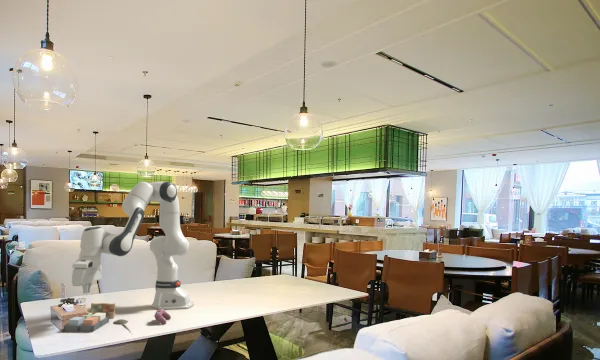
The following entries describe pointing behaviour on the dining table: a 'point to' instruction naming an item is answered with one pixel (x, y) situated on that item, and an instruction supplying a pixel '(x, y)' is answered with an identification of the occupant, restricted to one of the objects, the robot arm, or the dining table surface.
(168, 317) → the pink neck pillow
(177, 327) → the dining table surface
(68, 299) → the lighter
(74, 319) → the key blue
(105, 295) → the dining table surface
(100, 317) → the key cream
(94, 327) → the keypad
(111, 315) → the stand
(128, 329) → the soupspoon
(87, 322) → the key terracotta
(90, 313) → the key sage
